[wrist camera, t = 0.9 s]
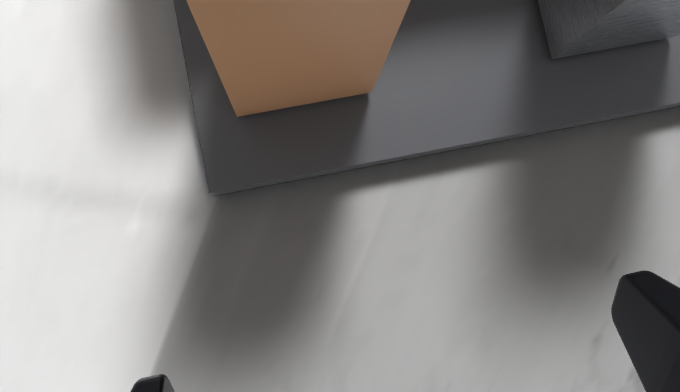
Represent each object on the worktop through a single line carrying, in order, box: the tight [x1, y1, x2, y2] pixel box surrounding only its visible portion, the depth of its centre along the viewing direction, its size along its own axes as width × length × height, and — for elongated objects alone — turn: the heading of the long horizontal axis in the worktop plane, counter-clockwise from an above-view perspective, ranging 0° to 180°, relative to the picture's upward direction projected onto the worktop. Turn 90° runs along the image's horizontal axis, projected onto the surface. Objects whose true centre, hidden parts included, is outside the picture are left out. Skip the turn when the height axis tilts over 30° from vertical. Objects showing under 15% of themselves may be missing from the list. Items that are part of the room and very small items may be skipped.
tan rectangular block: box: [186, 0, 411, 117], centre depth 17 cm, size 3×5×10 cm, turn 101°
